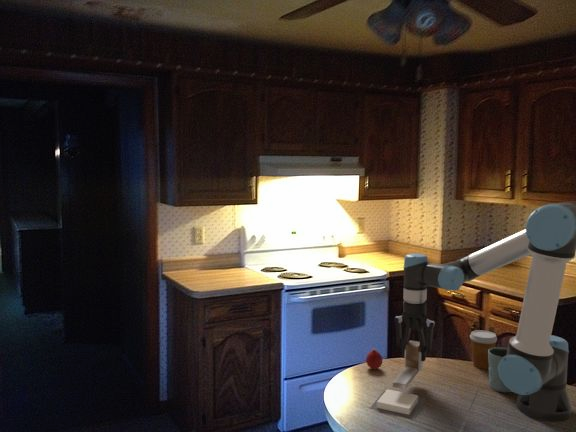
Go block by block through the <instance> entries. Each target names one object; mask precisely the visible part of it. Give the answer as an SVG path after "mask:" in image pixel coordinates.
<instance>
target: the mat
mask: <svg viewBox="0 0 576 432" xmlns="http://www.w3.org/2000/svg"><path fill="white" fill-rule="evenodd" d="M385 391H386V390H383V392H382V393H381V394H380V395H379V396H378V397H377V399H376V400H375V401H374V402H373V403H372V405H371V406H370V407H369V409H372V410H376V411H380V412H385V413H388V414H394V415H399V416H403V417H407V418H413V419H416V418H417V416H418V415H419V413H420V411H421V409H422V408H423V406H424V405H425V404H426V402H427V400H428V399H425V398H423V397H418V402H417V404H416V405H415V407H414V409H413V410H412V412H411V413H410V415H407V414H402V413H398V412H393V411H389V410H384V409H379V408H377V401H378V400H379V399H380V397H381V396H382V395H383V394H384V393H385Z"/></svg>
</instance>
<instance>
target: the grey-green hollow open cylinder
mask: <svg viewBox="0 0 576 432" xmlns="http://www.w3.org/2000/svg"><path fill="white" fill-rule="evenodd" d="M507 350H508V347H501V346H500V347H497V346H495V347H494V348H490V349H489V350H488V358H489V359H488V360H489V361H488V362H489V368H488V385H489V386H488V387H489V388H490V389H492V390H494V391H497V392H500V393H512V392H513V391H511V390H510V389H508V388H507V387H506V386H505V385H504V383H503V381H502V380H501V379H500V377H499V373H498V365H499V362H500V361H501V359H502V358H503V357H504V356H506V355H507ZM513 393H514V392H513Z"/></svg>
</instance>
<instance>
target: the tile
mask: <svg viewBox="0 0 576 432" xmlns="http://www.w3.org/2000/svg"><path fill="white" fill-rule="evenodd" d="M384 391H385V393H384V394H383V395H382V396H381V397H380V399H379V400H378V401H377V408H379V409H384V410H389V411H393V412H398V413H402V414H407V415H410V413H411V412H412V410H413V409H414V407H415V405H416V404H417V402H418V398H419V395H417V394H412V393H408V392H402V391H398V390H397V391H396V390H394V389H393V390H392V389H388V388H386V390H384Z"/></svg>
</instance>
